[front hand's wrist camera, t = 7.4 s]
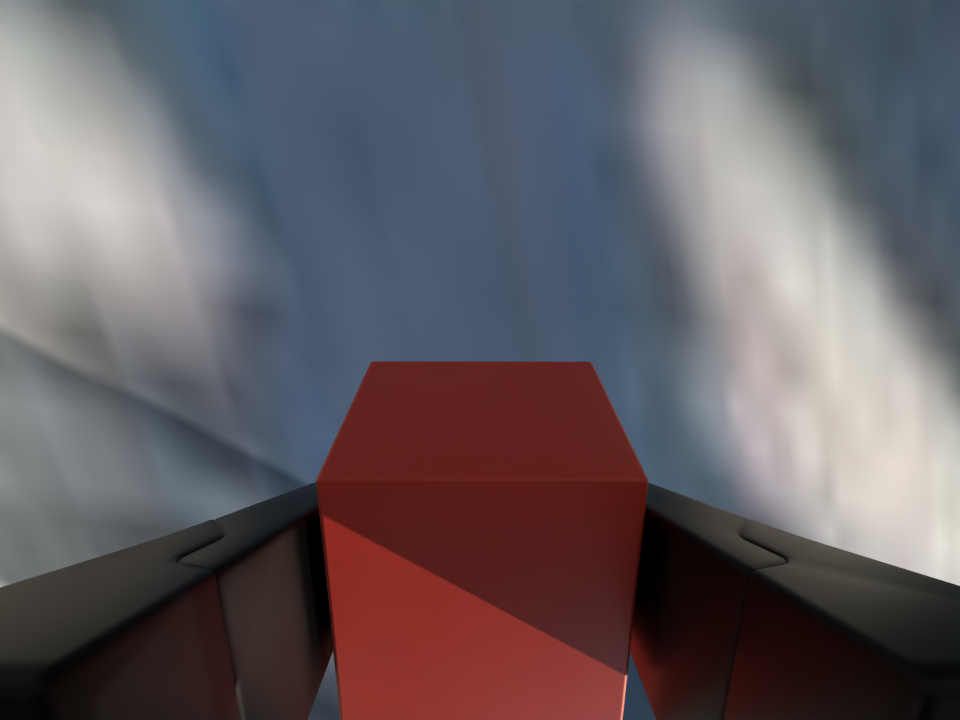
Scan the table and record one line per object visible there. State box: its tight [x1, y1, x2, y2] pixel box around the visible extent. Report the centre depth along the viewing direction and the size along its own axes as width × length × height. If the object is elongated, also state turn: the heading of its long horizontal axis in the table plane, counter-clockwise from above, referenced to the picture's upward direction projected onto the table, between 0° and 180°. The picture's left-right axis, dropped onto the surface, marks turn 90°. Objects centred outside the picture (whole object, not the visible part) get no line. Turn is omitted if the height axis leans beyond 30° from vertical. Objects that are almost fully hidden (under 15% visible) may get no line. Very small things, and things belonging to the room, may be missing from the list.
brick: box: [316, 362, 648, 720], centre depth 10 cm, size 4×4×4 cm
